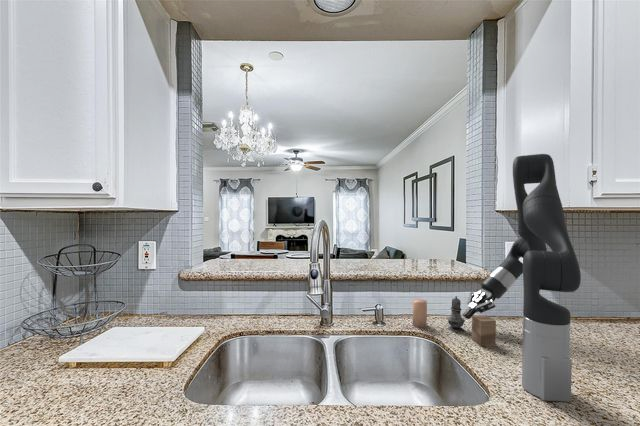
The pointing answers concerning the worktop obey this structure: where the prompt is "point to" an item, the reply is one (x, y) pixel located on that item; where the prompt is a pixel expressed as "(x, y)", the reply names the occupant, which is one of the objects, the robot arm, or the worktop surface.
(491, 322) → the walnut block
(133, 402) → the worktop surface
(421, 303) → the terracotta canister
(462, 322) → the dark grey turned piece
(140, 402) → the worktop surface
